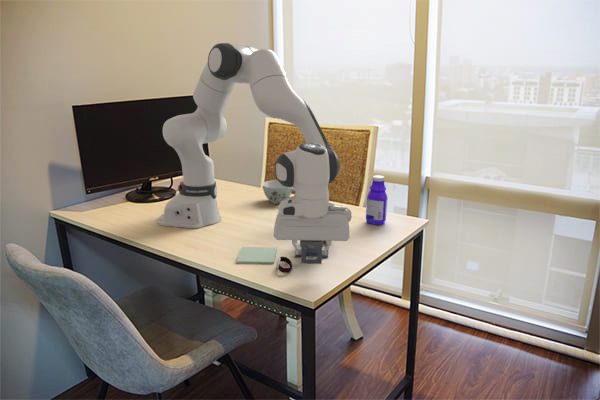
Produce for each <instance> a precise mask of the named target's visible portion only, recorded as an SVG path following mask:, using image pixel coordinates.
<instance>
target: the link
mask: <svg viewBox="0 0 600 400" xmlns="http://www.w3.org/2000/svg"><path fill="white" fill-rule="evenodd" d="M306 246H317V257H306ZM322 259H323V258H322V241H320V240H301V257H300V260H301V262H300V263H301V264H305V265H306V264H309V265H311V264H312V265H315V264H316V265H322V264H323V263H322Z"/></svg>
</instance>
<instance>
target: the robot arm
mask: <svg viewBox="0 0 600 400" xmlns="http://www.w3.org/2000/svg"><path fill="white" fill-rule="evenodd" d="M236 83H237V84H246V85H247V84H248V85H249V87H250V91H251V95H252V98H253V101H254V103H255V105H256V107H257V109H258V110H259V111H260V112H261V113H263V114H264V115H266V116H268V117H270V118H273V119H277V120H278V119H279V120H282V121H284V122H287V123H290V124H291V125H293V126H295V127H296V128H298V129H299V131H300V132H301V135H302V136H303V139H304V141H305V142H304V143H301V144H299V145H298V146H297V147H296V149H294V150H291V151H287V152H284V153H280V154H279V156H278V157H277V159H276V161H275V163H274V175H275V180H278V181H279V183H281V184H282V185H283V186H285V187H293V188H295V189H296V194H294V195H295V197H294V198H290V199H287V200H284V201H281V203H280V204H278V207H277V208H278V211H277V215H276V217H275V221H274V229H273V237H274V239H275V240H277V241H291V244H292V246H293V248H294V249H295V250H296V255H301V247H300V245H298V241H300V240H320V241H326V243H325V244H326V245H324V246H323V247H322V255H327V250H328V251H329V249H330V247H331V245H332V242H333V241H334V242H337V241H338V242H347V241H348V240H349V239H350V238H351V237H350V235H351V233H350V224H349V223H350V222H351V221H352V210H351V209H350V208H348V207H346V206H345V205H341V206H338V205H337V206H336V205H335V206H329V203H330V192H329V188H328V187H329V184H332V182H334V181H335V179H337V177H338V175H339V173H340V169H341V162H340V159H339V157H338V155H337V153H336V152H335V150H334V149H333V148H332V147H331V145H330V143H329V142H328V140H327V139H326V136H325V134H324V132H323V130H322V128H321V126H320V124H319V122H318V120H317V118H316V117H315V115H314V113H313V111H312V109H311V107H310V106H309V104H308V103H307V101H305V99H303V98H301V97H300V96H299V95H298V94H297V93H296V91H295V90H294V89H293V87H292V86H291V83H290V82H289V77H288V75H287V73H286V71H285V69H284V66H283V63H282V62H281V60H280V58H279V57H278V54H276V53H275V52H274V51H273V50H271V49H268V48H260V49H258V48H256V47H252V46H249V45H239V44H231V43H229V42H222V43H216V44H214V46H213V47H212V48H211V49H210V51H209V53H208V57H207V62H206V64H205V65H204V68H203V69H202V71H201V73H200V76H199V79H198V81H197V84H196V86H195V88H194V91H193V93H192V98H193V101H194V103H195V104H196V106H197V108H196V109H195V111H194V112H192V113H186V114H185V113H184V114H179V115H176V116H173V117H171V118H168V119H167V120H166V121H165V122H164V123H163V126H162V136H163V139H164V141H165V142H166V144H167V145H168V146H170V147H172V149H174V151H175V152H176V153H177V155H178V157H179V160H180V163H181V169H182V180H181V181H180V182H179V185H178V187H177V191H178V193H177V194H176V195H175V196H174V197H172V198H171V199H170V200H169V201H168V202H167V203H166V204H165V207H164V211H163V214H161V215H160V216H159V217H158V219H157V224H158V225H159V226H164V227H165V226H166V227H176V228H187V229H199V228H202V227H205V226H210V225H214V224H216V223H218V222H220V221H221V220H222V217H221V213H220V210H219V207H218V202H217V196H218V189H217V188H218V187H217V182H216V181H215V179H216V178H215V164H214V163H215V162H214V161H213V159H212V158H211V157H210V156H208V155H206V154H205V151H204V149H203V148H204V147H203V144H209V143H212V142H215V141H218V140H219V139H222V138H223V137H224V136H225V135H226V133H227V131H228V125H227V120H226V118H225V117H224V110H225V107H226V105H227V103H228V100H229V97H230V96H231V94H232V92H233V89H234V87H235V85H236Z"/></svg>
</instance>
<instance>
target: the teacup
mask: <svg viewBox="0 0 600 400" xmlns="http://www.w3.org/2000/svg"><path fill="white" fill-rule="evenodd" d="M262 190H263V193H264V195H265V197H266V198H267V199H268V200H269V201H270V203H272V204H274V205H279V204H280V203H281V201H284V200H287V199H290V198H294V197H295V194H296V189H295V188H294V187H285V186H283V185H282V184H281V183H279V181H278V180H277V179H271V180H266V181H264V182H263V183H262ZM292 192H295V194H294V195H292V196H291V194H292Z"/></svg>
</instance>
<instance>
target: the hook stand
mask: <svg viewBox="0 0 600 400" xmlns="http://www.w3.org/2000/svg"><path fill="white" fill-rule="evenodd" d="M299 247H301V240H299ZM322 247H324V244H323V241H322ZM294 251H295V252H294V258H301V255H296V249H295V250H294ZM306 257H317V246H306ZM324 258H325V259H329V249H328V250H327V255H322V259H324Z"/></svg>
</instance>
